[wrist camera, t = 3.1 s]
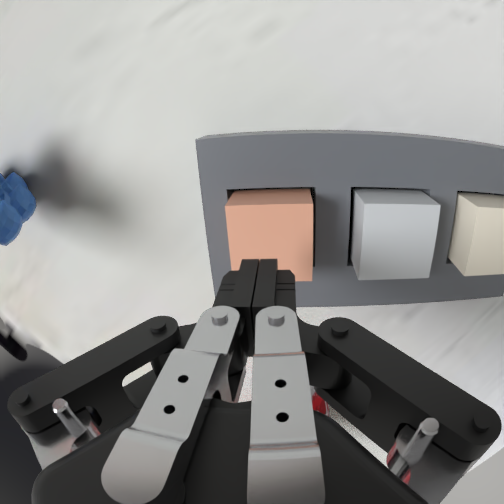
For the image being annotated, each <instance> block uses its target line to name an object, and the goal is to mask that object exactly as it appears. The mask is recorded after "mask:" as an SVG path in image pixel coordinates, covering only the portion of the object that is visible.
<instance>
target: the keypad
mask: <svg viewBox="0 0 504 504" xmlns="http://www.w3.org/2000/svg"><path fill="white" fill-rule="evenodd" d="M196 150H197V159H198V169H199V178H200V186H201V195H202V203H203V211H204V219H205V227H206V235H207V243H208V250H209V257H210V265H211V272H212V279H213V285H214V292H215V298H216V295H217V292H218V291H219V287H220V285H221V281H222V278H223V276H224V275H226V274H227V273H228V272H229V271H232V270H231V260H230V251H229V242H228V232H227V222H226V212H225V205H226V203H227V202H228V200H229V198H230V197H231V195H232V194H233V192H234V191H235V189H248V188H279V187H313V271H312V281H295V290H296V307H334V306H366V305H390V304H409V303H425V302H440V301H453V300H466V299H477V298H488V297H498V296H503V293H504V274H496V275H479V276H463V274H462V273H461V272H460V271H459V270H458V268H457V267H456V266H455V265H454V264H453V263H452V261H451V260H450V259H449V258H448V257H447V255H448V250H449V245H450V239H451V233H452V227H453V221H454V214H455V207H456V199H457V191H470V192H483V193H494V195H502V196H504V146H499V145H493V144H488V143H481V142H475V141H468V140H461V139H454V138H446V137H437V136H428V135H417V134H405V133H391V132H374V131H347V130H291V131H263V132H245V133H231V134H218V135H207V136H204V137H201V138H199V139H196ZM351 187H388V188H415V190H421V191H422V192H424V193H425V194H427V195H428V196H429V197H431V198H432V199H433V200H435V201H436V202H437V203H438V204H440V205H441V207H440V215H439V222H438V229H437V236H436V242H435V248H434V253H433V259H432V264H431V269H430V274H429V278H415V279H386V280H358V278H357V275H356V272H355V269H354V266H353V263H352V261H351V258H350V249H348V244H349V226H350V201H351Z"/></svg>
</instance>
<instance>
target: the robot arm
mask: <svg viewBox="0 0 504 504" xmlns="http://www.w3.org/2000/svg"><path fill="white" fill-rule="evenodd" d="M247 357H253V372H252V401H247V402H240V403H238V400H239V397H240V393H241V389H242V386H243V382H244V378H245V374H246V366H245V365H246V363H247ZM148 362H151V365H152V368H153V370H151V371H150V372H148V373H146V374H145V375H143V376H141V377H140V378H138V379H136V380H135V381H133V382H131V383H129V384H128V385H126V386H124V387H122V381H123V379H124V377H125V376H126V375H128V374H129V373H131V372H133V371H135V370H136V369H138V368H140V367H142V366H143V365H145V364H147V363H148ZM310 385H311V386H314V390H315V392H316V393H317V394H318V395H319V396H320V397H321V398H322V399H323V400H324V401H326V402H327V403H328V404H329V405H330V406H331V407H332V408H334V409H335V410H336V411H337V412H338V413H339V414H341V415H342V416H343V417H344V418H345V419H347V420H348V421H349V422H350V423H351V424H353V425H354V426H355V427H356V428H357V429H359V430H360V431H361V432H362V433H363V434H365V435H366V436H367V437H368V438H369V439H371V440H372V441H373V442H374V443H376V444H377V445H378V446H379V447H381V448H382V449H383V450H384V451H386V452H387V453H388V455H387V466H388V468H389V469H388V468H387V467H386V466H385V465H384V464H382V463H381V462H380V461H379V460H378V459H377V458H376V457H374V456H373V455H372V454H371V453H370V452H369V451H368V450H367V449H366V448H364V447H363V446H362V445H361V444H360V443H359V442H358V441H357V440H356V439H355V438H353V437H352V436H351V435H350V434H349V433H348V432H347V431H346V430H345V429H344V428H343V427H342V426H340V425H339V424H338V423H337V422H336V421H334V420H333V419H332V418H330V417H329V416H327V415H325V414H323V413H321V412H318V411H316V410H313V407H312V399H311V392H310ZM7 407H8V410H9V412H10V413H11V415H12V416H13V417H14V418H15V419H16V421H17V422H18V423H19V424H20V426H21V428H22V429H23V430H24V432H25V433H26V434H27V435H28V436H29V438H30V441H31V443H32V446H33V448H34V451H35V453H36V456H37V458H38V461H39V463H40V465H41V467H42V472H41V473H40V474H39V475H38V477H37V478H36V480H35V483H34V485H33V489H32V504H440V502H441V501H442V500H443V499H444V498H445V497H446V495H447V494H448V493H449V492H450V491H451V489H452V488H453V487H454V486H455V484H456V483H457V482H458V480H459V479H460V478H461V477H462V476H463V475H464V474H465V473H466V472H467V471H468V470H469V469H470V468H471V467H472V466H473V465H474V464H475V463H476V462H477V461H478V460H479V459H480V457H481V456H482V455H483V454H484V453H485V452H486V451H487V450H488V448H489V447H490V446H491V445H492V444H493V443H494V441H495V440H496V439H497V438H498V436H499V435H500V432H501V420H500V417H499V415H498V414H497V413H496V411H495V410H494V409H492V408H491V407H489V406H488V405H486V404H484V403H483V402H481V401H480V400H478V399H476V398H475V397H473V396H472V395H470V394H468V393H467V392H465V391H464V390H462V389H460V388H459V387H457V386H456V385H454V384H452V383H451V382H449V381H448V380H446V379H444V378H443V377H441V376H440V375H438V374H437V373H435V372H433V371H432V370H430V369H429V368H427V367H425V366H424V365H422V364H421V363H419V362H417V361H416V360H414V359H413V358H411V357H409V356H408V355H406V354H405V353H403V352H402V351H400V350H398V349H397V348H395V347H394V346H392V345H390V344H389V343H387V342H386V341H384V340H383V339H381V338H379V337H378V336H376V335H375V334H373V333H371V332H370V331H368V330H367V329H365V328H364V327H362V326H360V325H359V324H357V323H356V322H354V321H352V320H350V319H347V318H341V317H336V318H330V319H327V320H325V321H324V322H322V323H321V324H320V326H314V325H310V324H307V323H305V322H303V321H302V320H301V319H300V318H299V317H298V316H297V314H296V290H295V275H294V274H293V273H292V272H291V270H278V260H277V259H260V260H259V259H242V261H241V264H240V268H239V270H234V271H229V272H228V273H227V274H226V275H224V276H223V278H222V281H221V285H220V287H219V291H218V292H217V295H216V298H215V301H214V304H213V307H212V308H210V309H208V310H206V311H205V312H203V313H202V315H201V316H200V318H199V320H198V322H197V323H195V324H191V325H185V326H179V327H178V323H177V321H176V320H175V319H174V318H172V317H169V316H157V317H153V318H151V319H149V320H147V321H145V322H143V323H141V324H139V325H137V326H136V327H134V328H132V329H130V330H128V331H126V332H124V333H122V334H120V335H119V336H117V337H115V338H113V339H111V340H109V341H107V342H105V343H103V344H102V345H100V346H98V347H96V348H94V349H92V350H90V351H88V352H86V353H85V354H83V355H81V356H79V357H77V358H75V359H73V360H71V361H69V362H67V363H66V364H64V365H62V366H60V367H58V368H56V369H54V370H52V371H50V372H49V373H46V374H44V375H43V376H41V377H39V378H37V379H35V380H33V381H31V382H29V383H27V384H25V385H23V386H21V387H19V388H18V389H16V390H15V391H14V392H13V393H12V394H11V396H10V397H9V399H8V403H7Z"/></svg>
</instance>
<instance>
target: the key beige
mask: <svg viewBox="0 0 504 504" xmlns="http://www.w3.org/2000/svg"><path fill="white" fill-rule="evenodd" d="M447 257H448V258H449V259H450V260H451V261H452V263H453V264H454V265H455V266H456V267H457V268H458V270H459V271H460V272H461V273H462V274H463V276H479V275H496V274H504V196H502V195H490V194H477V193H463V192H457V199H456V207H455V214H454V221H453V227H452V233H451V239H450V245H449V250H448V255H447Z"/></svg>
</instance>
